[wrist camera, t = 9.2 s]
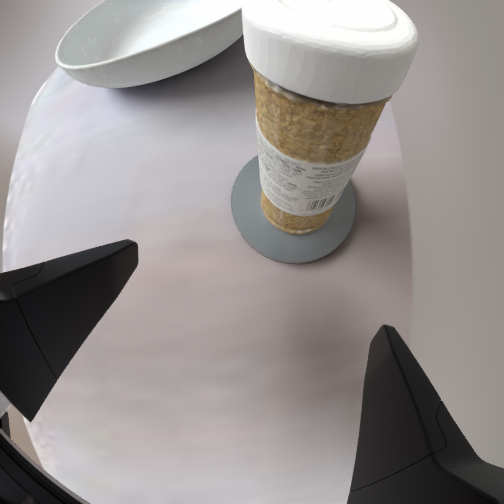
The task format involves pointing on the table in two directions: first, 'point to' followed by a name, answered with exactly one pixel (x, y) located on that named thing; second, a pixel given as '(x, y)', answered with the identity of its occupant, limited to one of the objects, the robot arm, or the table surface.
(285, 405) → the table surface
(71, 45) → the serving bowl
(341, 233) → the coaster
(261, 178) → the sprinkles bottle
